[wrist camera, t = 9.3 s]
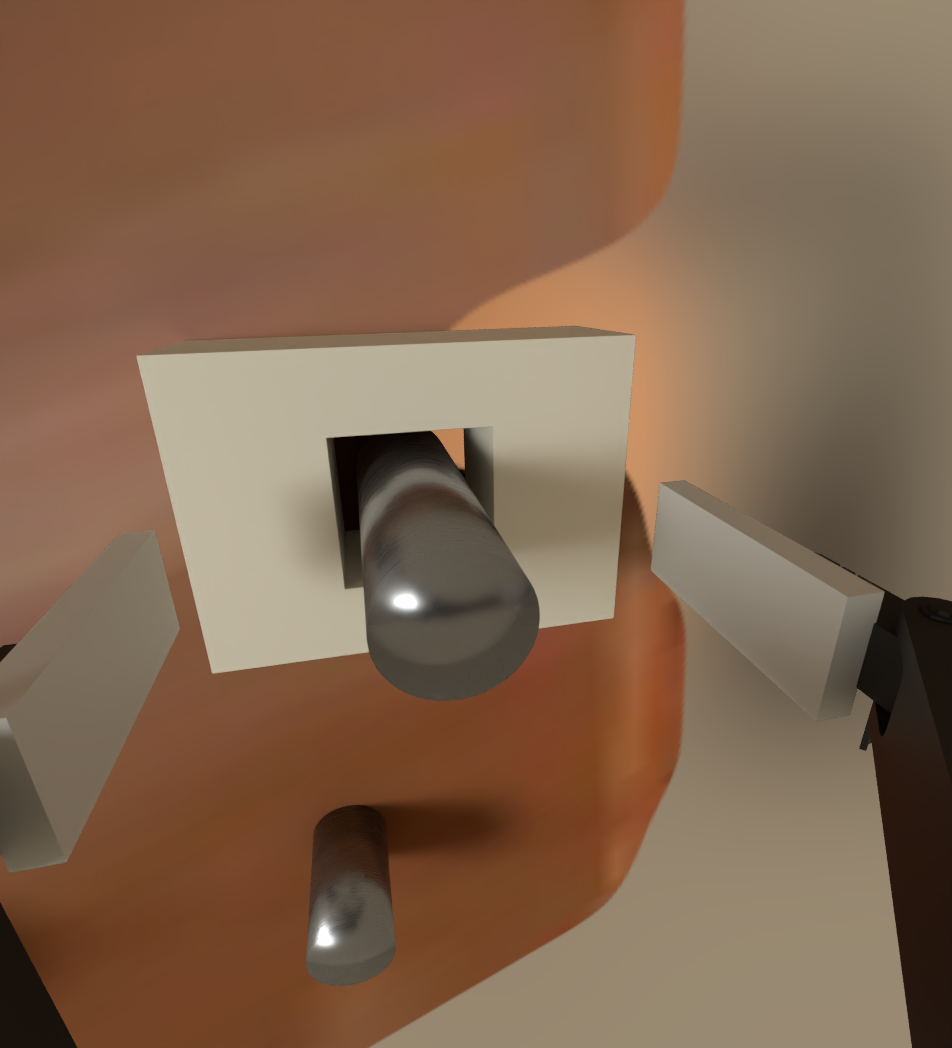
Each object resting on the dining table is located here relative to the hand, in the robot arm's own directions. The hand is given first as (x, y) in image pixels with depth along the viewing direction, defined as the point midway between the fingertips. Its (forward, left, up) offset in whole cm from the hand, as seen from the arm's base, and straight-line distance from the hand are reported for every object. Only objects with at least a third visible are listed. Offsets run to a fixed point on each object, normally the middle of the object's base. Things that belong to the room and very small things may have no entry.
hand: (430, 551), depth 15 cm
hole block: (0, 0, -8) cm, 8 cm away
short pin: (+19, -4, -8) cm, 21 cm away
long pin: (0, 0, -8) cm, 8 cm away
